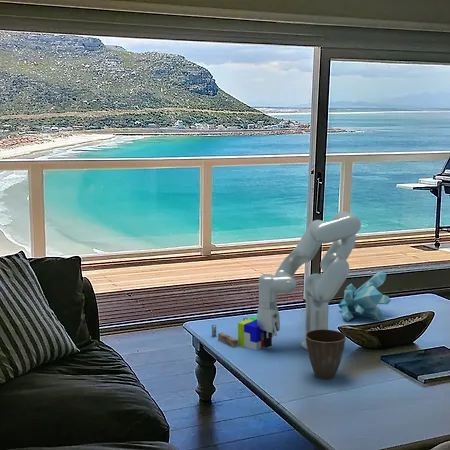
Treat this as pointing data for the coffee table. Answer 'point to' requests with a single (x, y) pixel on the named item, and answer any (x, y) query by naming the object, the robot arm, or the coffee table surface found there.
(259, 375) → the coffee table surface
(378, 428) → the coffee table surface
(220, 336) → the walnut channel
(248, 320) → the puzzle toy
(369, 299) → the crystal cluster
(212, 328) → the slate goal posts
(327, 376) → the plant pot
